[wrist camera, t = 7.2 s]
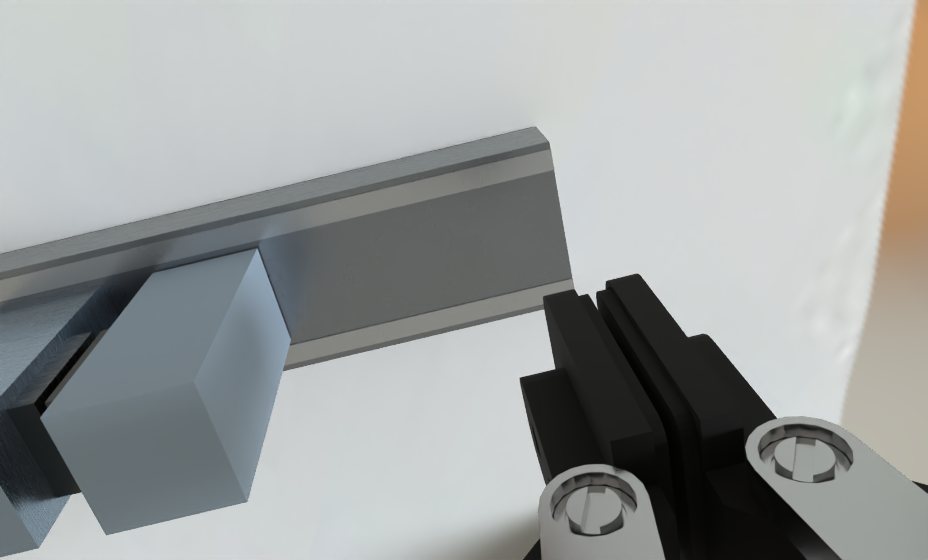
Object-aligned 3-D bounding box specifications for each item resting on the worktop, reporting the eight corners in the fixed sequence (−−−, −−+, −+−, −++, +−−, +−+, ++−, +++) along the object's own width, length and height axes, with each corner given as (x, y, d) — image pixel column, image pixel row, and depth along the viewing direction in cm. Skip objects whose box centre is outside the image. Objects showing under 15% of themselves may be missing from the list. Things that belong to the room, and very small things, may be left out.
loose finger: (131, 278, 20) (9, 425, 14) (257, 248, 20) (193, 381, 14) (172, 367, 21) (77, 542, 15) (290, 340, 21) (247, 501, 15)
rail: (-17, 257, 21) (-270, 439, 13) (535, 126, 21) (625, 226, 13) (57, 395, 24) (-122, 625, 15) (561, 275, 23) (653, 442, 15)
